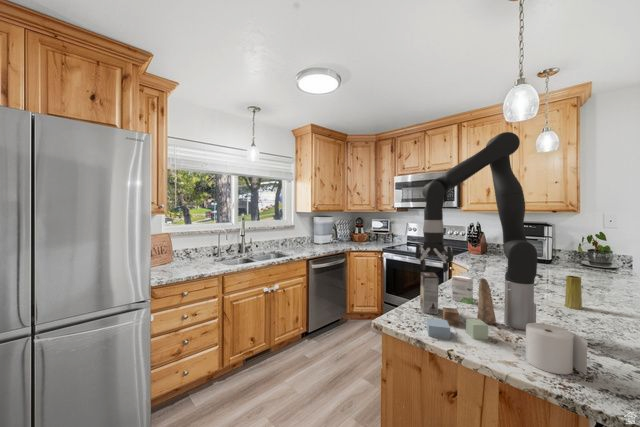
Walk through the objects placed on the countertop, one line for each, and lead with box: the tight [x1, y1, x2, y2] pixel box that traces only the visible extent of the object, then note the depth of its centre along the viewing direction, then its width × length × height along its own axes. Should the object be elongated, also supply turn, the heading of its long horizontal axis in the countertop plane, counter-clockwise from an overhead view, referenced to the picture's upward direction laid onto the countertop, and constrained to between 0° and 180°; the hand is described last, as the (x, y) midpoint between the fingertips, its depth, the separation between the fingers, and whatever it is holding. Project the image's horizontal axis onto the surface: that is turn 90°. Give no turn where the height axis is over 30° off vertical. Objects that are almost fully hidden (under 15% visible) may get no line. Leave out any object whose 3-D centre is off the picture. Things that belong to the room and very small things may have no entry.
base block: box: [426, 318, 451, 339], centre depth 100 cm, size 7×7×4 cm
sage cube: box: [465, 318, 489, 340], centre depth 98 cm, size 5×5×5 cm
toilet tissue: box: [524, 322, 589, 376], centre depth 80 cm, size 11×12×10 cm
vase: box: [564, 275, 583, 310], centre depth 128 cm, size 6×6×14 cm
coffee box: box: [419, 271, 439, 315], centre depth 123 cm, size 9×6×16 cm
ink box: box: [451, 275, 474, 304], centre depth 136 cm, size 9×5×12 cm, turn 44°
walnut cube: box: [442, 307, 460, 327], centre depth 109 cm, size 5×5×5 cm
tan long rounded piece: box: [476, 277, 497, 325], centre depth 110 cm, size 6×18×6 cm
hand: (433, 270), depth 112 cm, fingers open, 8 cm apart
